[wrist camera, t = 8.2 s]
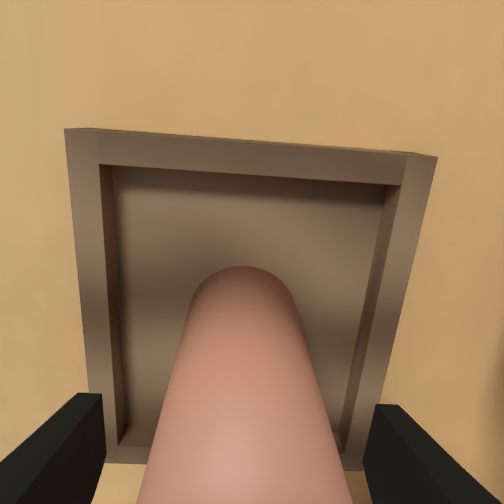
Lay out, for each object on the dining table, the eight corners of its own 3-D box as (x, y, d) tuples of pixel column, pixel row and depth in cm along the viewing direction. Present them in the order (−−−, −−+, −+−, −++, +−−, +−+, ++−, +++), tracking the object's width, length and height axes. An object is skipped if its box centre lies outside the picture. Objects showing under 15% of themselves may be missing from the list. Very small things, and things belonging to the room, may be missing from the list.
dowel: (290, 360, 16) (347, 633, 8) (189, 358, 16) (130, 635, 7) (300, 267, 14) (385, 479, 6) (188, 264, 14) (113, 477, 6)
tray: (351, 438, 18) (362, 471, 17) (109, 430, 18) (95, 462, 16) (413, 152, 14) (437, 156, 12) (87, 127, 13) (64, 128, 11)
